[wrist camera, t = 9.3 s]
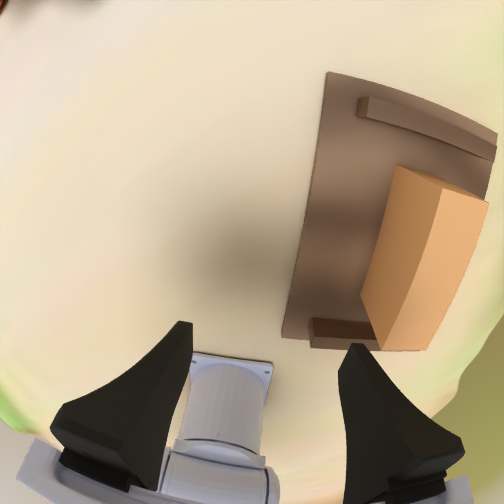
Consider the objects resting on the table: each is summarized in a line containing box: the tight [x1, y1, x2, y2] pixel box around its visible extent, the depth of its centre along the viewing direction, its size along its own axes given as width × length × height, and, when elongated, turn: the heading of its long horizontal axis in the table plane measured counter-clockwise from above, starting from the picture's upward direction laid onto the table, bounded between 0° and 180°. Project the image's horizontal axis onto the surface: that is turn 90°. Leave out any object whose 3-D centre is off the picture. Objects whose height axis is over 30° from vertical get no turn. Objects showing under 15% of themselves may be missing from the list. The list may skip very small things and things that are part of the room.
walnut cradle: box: [281, 72, 498, 351], centre depth 18 cm, size 20×14×3 cm
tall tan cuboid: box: [360, 164, 489, 351], centre depth 16 cm, size 10×4×6 cm, turn 174°
